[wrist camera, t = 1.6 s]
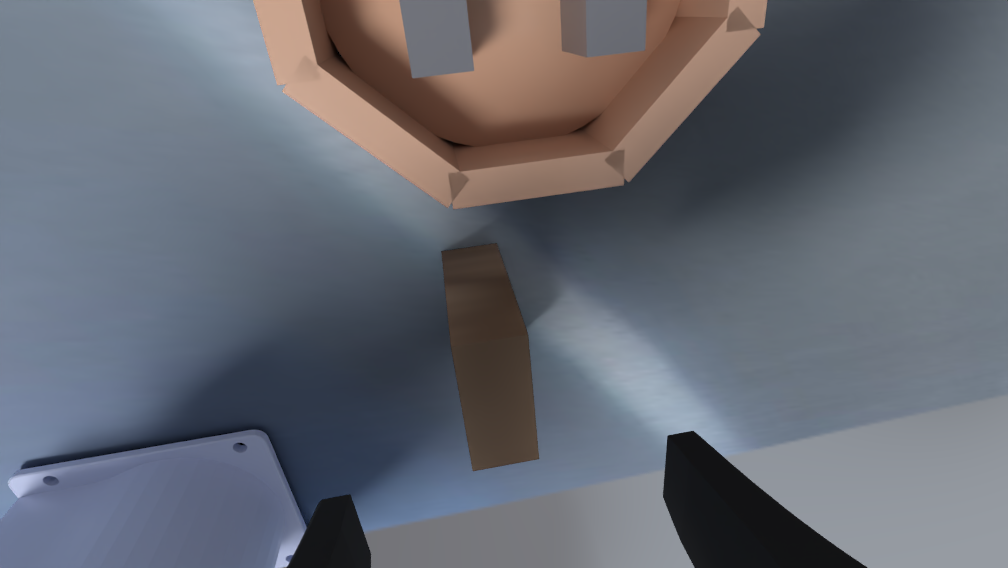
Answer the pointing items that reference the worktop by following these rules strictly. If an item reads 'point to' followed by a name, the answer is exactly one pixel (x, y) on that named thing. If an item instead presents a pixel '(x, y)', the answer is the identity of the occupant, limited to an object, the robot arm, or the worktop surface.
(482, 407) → the brown rectangular block
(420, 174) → the tan octagonal tray
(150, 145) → the worktop surface
